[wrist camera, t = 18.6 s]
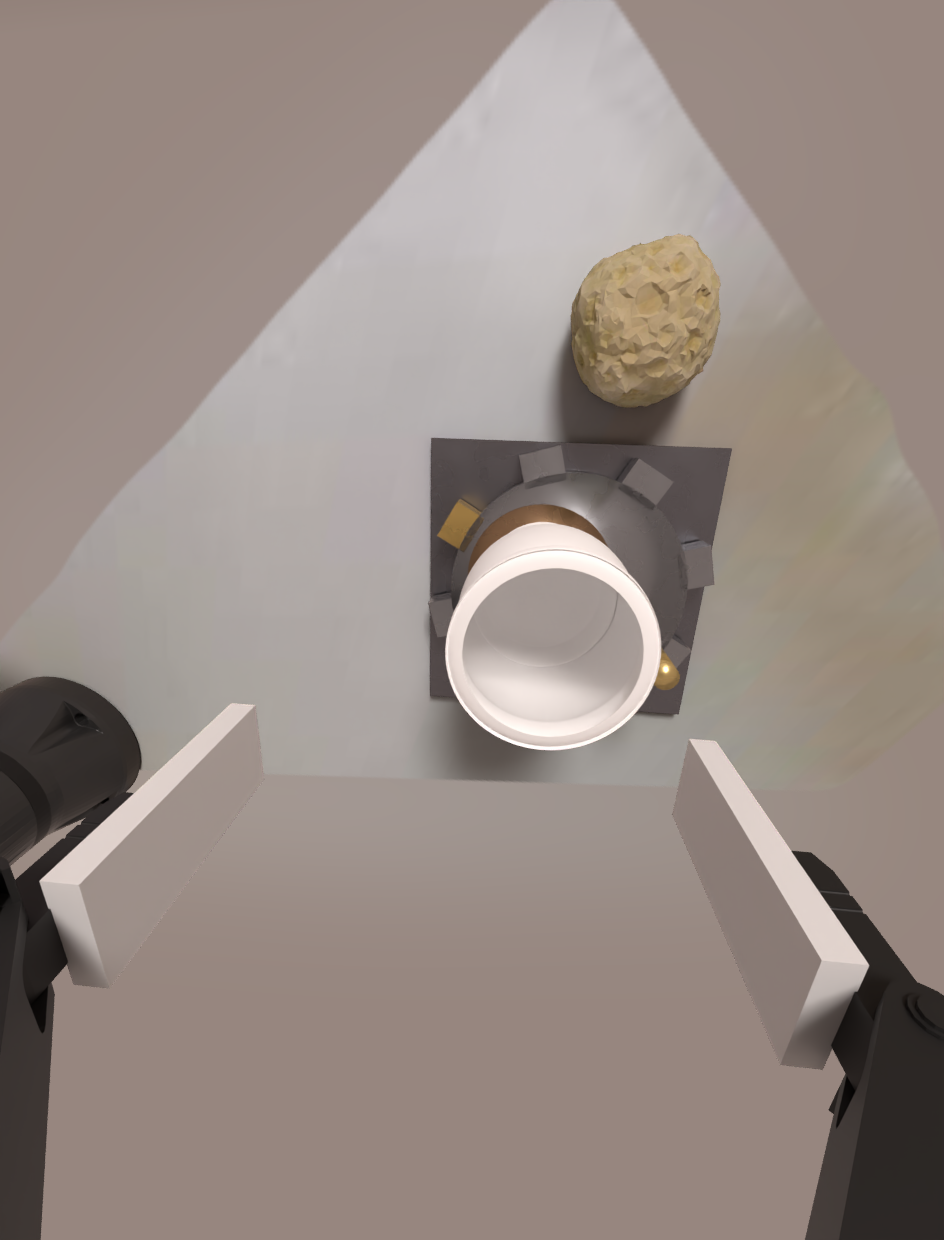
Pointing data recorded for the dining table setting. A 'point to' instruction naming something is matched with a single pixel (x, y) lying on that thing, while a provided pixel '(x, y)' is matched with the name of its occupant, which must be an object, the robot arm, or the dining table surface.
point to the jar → (551, 639)
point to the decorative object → (646, 321)
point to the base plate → (496, 468)
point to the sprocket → (601, 511)
